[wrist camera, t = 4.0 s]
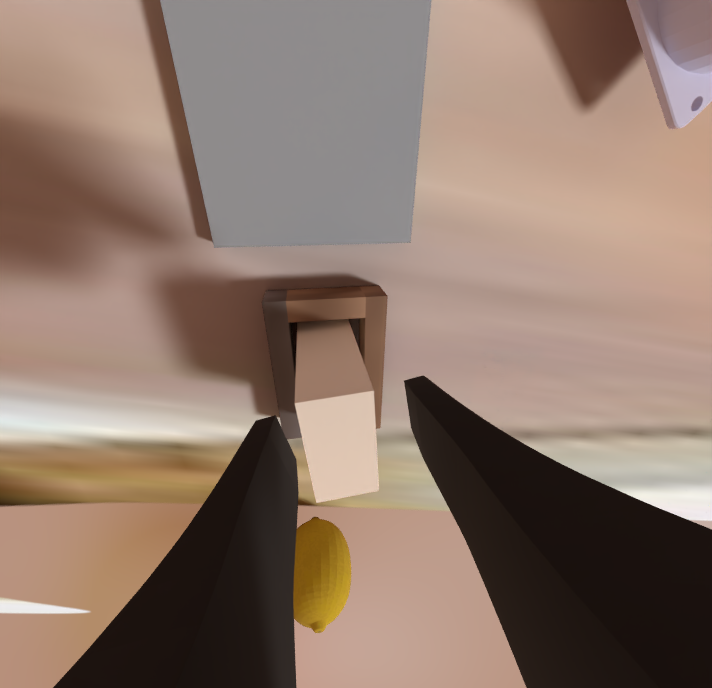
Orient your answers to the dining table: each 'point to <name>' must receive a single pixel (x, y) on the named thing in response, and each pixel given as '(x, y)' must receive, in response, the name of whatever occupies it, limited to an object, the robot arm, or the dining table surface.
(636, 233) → the dining table surface
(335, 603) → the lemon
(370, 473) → the tan rectangular post
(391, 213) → the tile
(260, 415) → the dining table surface
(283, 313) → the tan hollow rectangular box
